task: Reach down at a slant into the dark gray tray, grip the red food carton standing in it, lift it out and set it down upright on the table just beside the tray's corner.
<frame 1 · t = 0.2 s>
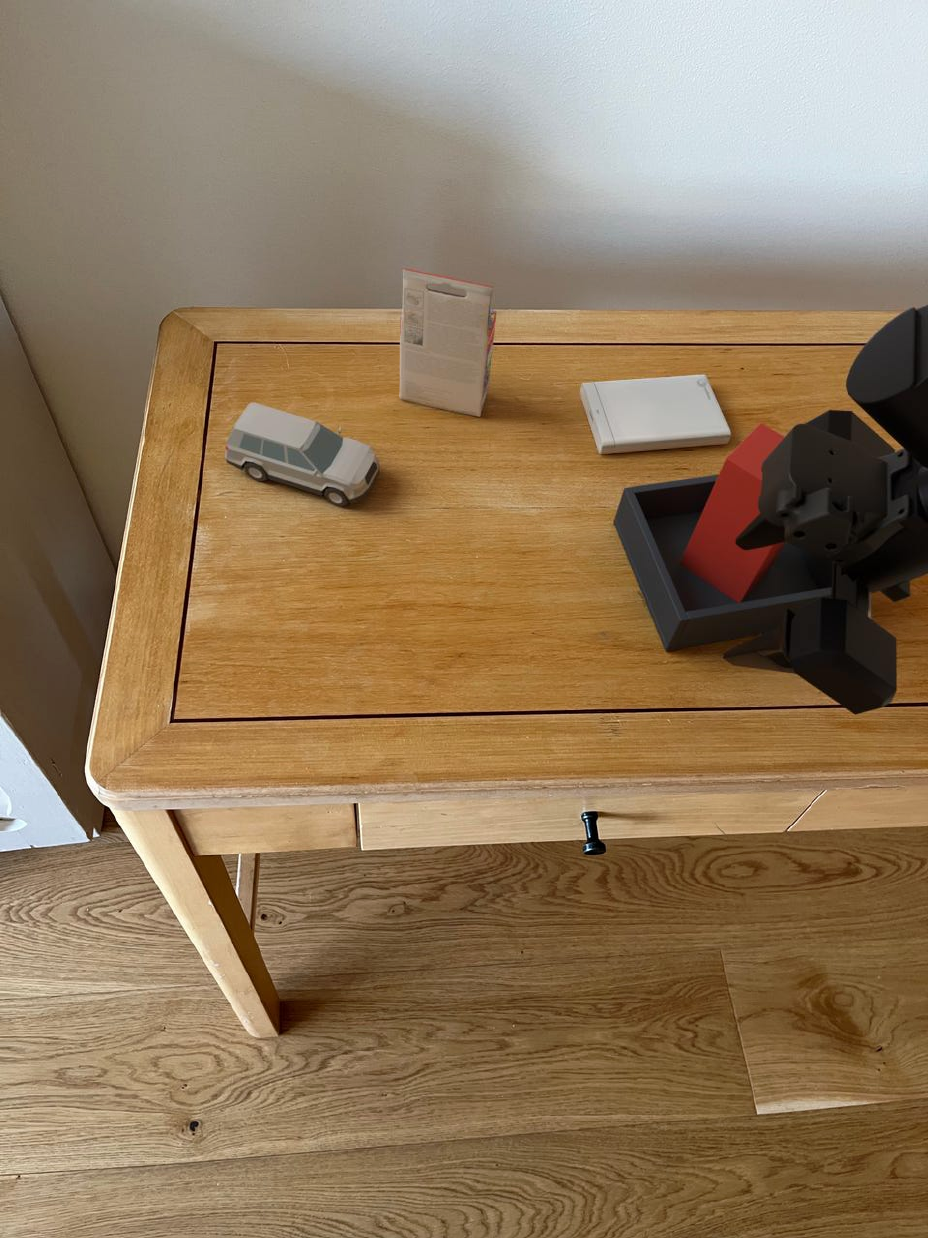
hand: (733, 600, 60), 14 cm above the table, tool tilted 30°, fingers open, 9 cm apart
ink box: (443, 399, 88), on the table
toy car: (306, 473, 82), on the table
hard drive: (651, 420, 88), on the table
package: (724, 566, 78), point 1 cm above the table, touching dark gray tray
dark gray tray: (722, 570, 79), on the table
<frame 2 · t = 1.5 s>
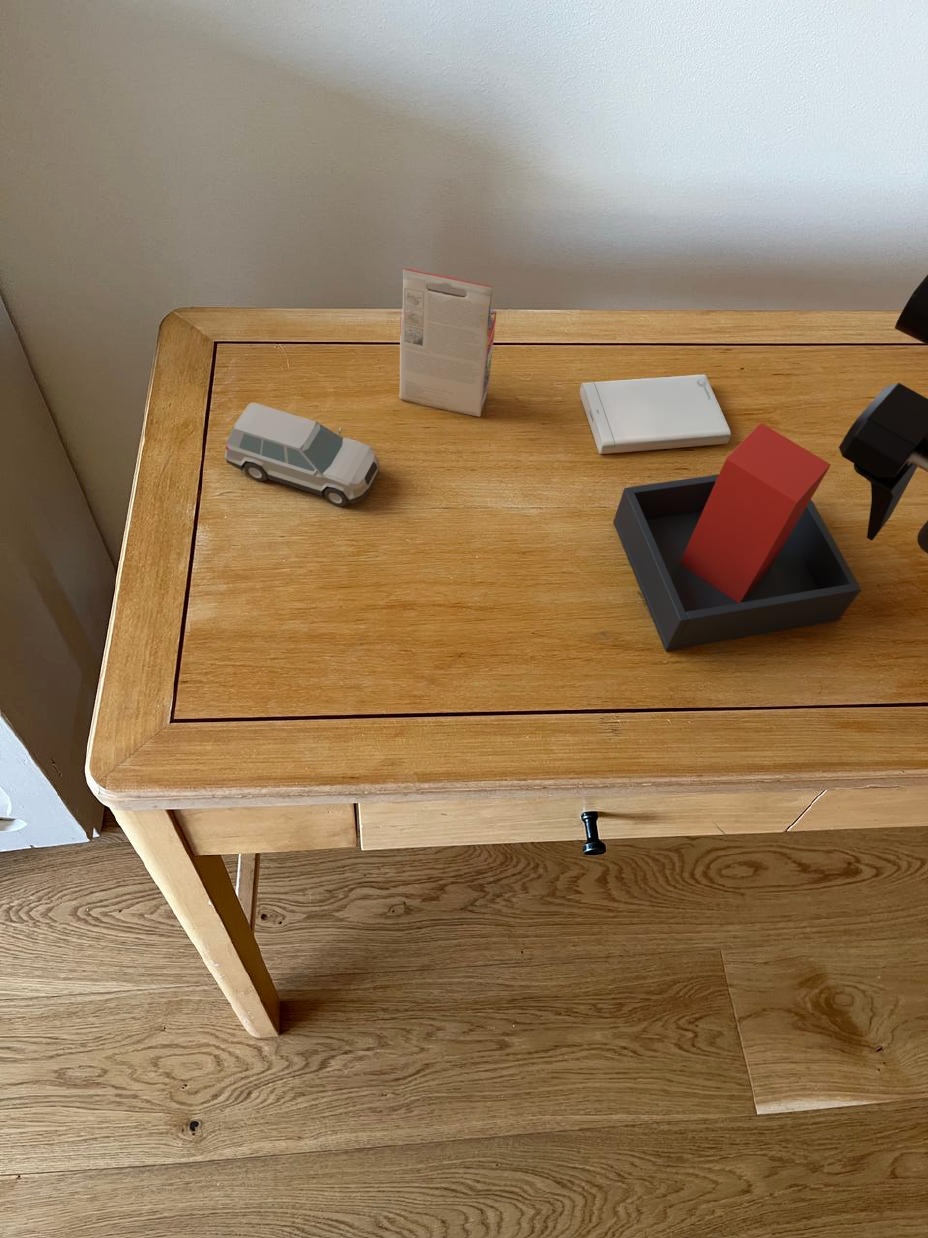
nothing on the table moved.
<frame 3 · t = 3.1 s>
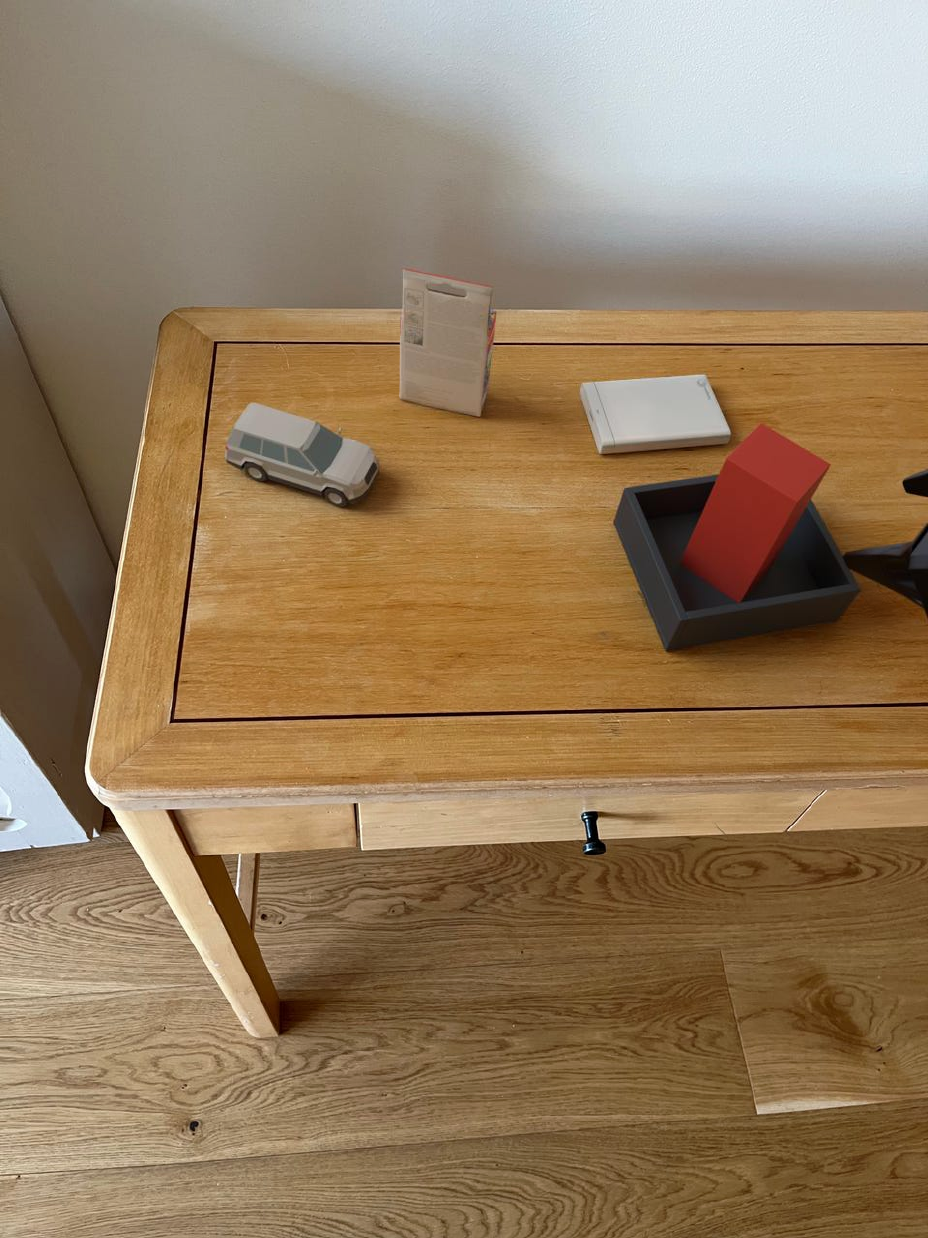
hand: (875, 521, 65), 13 cm above the table, tool tilted 45°, fingers open, 9 cm apart
nothing on the table moved.
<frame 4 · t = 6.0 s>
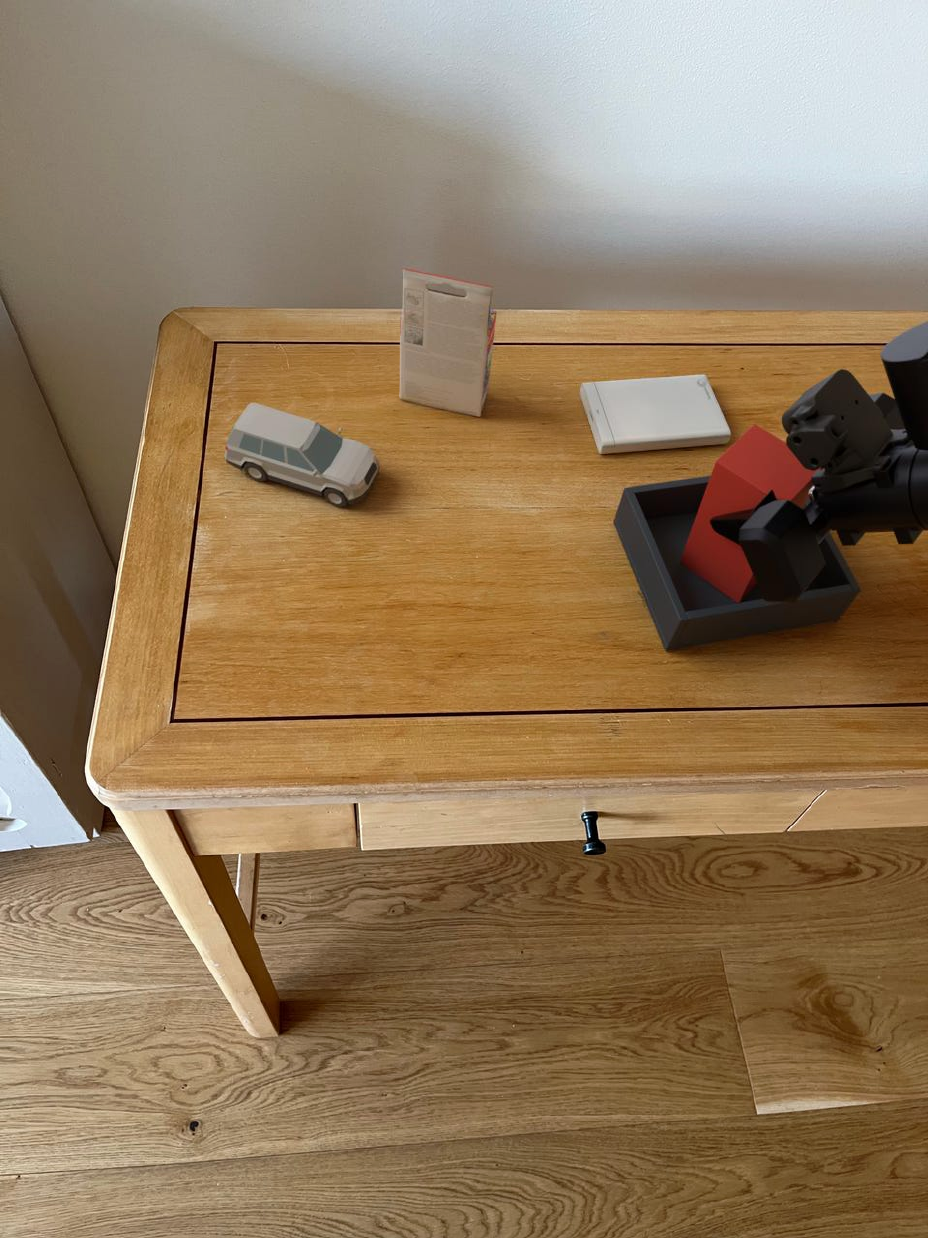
hand: (734, 501, 73), 8 cm above the table, tool tilted 45°, fingers closed on package, 6 cm apart
package: (725, 565, 78), point 1 cm above the table, touching dark gray tray, gripper
everything else where it was.
when the fingers open (7 cm above the table, at t = 12.8 s): package stays where it is, on the table.
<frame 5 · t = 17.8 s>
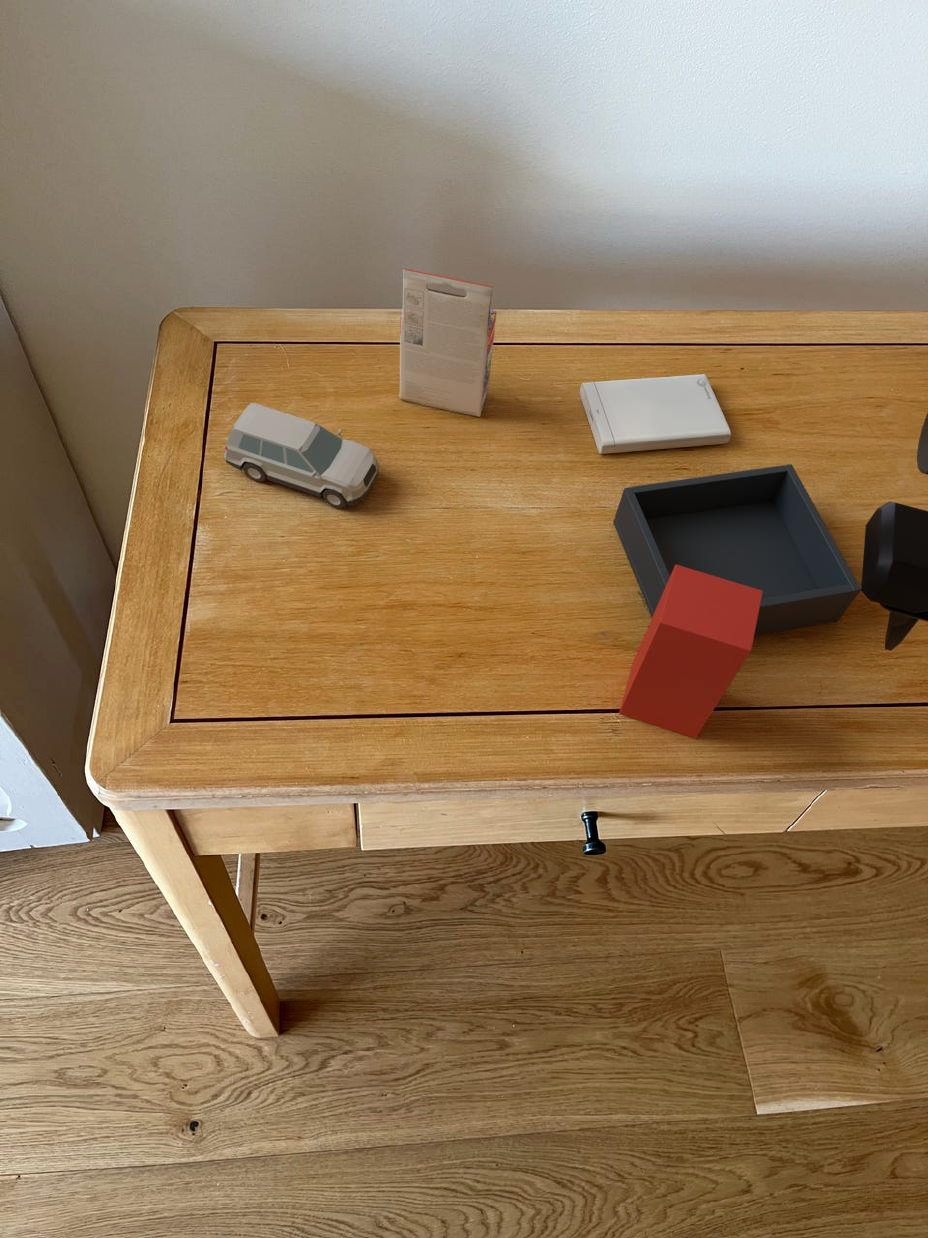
package: (663, 699, 72), on the table
everything else where it was.
at the end: package inside the target area (0.9 cm from its centre), on the table; package tilted 0°; the gripper is holding nothing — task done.
